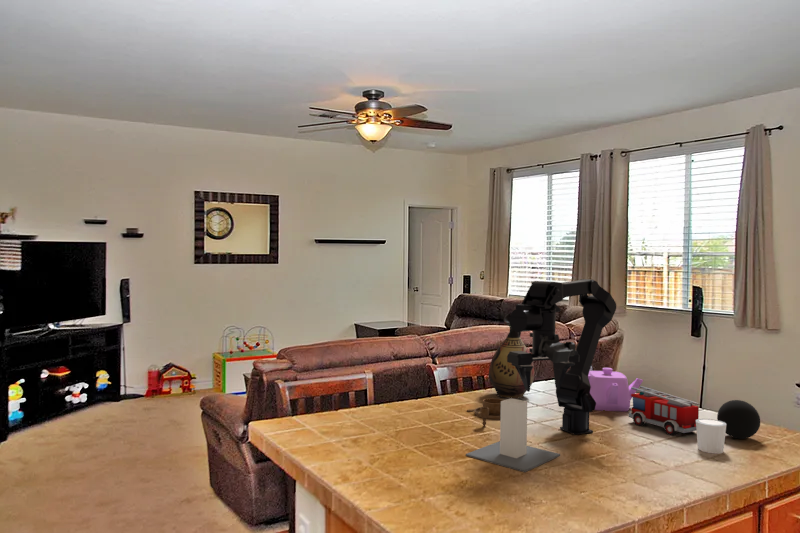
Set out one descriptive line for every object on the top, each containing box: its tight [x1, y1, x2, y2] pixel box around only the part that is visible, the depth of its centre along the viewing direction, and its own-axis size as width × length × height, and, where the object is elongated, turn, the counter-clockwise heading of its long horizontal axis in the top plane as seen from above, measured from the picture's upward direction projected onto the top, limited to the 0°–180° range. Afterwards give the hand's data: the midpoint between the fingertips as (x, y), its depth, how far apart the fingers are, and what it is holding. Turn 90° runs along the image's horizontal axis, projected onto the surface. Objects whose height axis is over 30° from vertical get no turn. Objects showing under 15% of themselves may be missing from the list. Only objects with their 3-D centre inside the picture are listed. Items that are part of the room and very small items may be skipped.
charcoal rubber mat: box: [465, 440, 561, 473], centre depth 143 cm, size 16×16×1 cm
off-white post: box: [499, 398, 528, 458], centre depth 142 cm, size 4×4×12 cm
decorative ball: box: [716, 399, 761, 440], centre depth 160 cm, size 10×10×10 cm
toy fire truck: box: [628, 385, 700, 436], centre depth 168 cm, size 9×19×10 cm, turn 28°
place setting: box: [466, 397, 504, 428], centre depth 178 cm, size 18×20×6 cm
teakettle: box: [588, 367, 644, 412], centre depth 194 cm, size 17×17×12 cm
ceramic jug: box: [488, 313, 535, 399], centre depth 208 cm, size 17×15×30 cm
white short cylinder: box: [696, 418, 726, 454], centre depth 149 cm, size 7×7×7 cm
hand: (543, 390), depth 155 cm, fingers open, 9 cm apart
